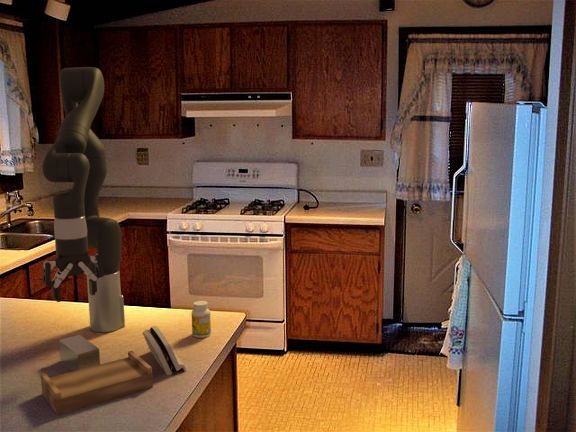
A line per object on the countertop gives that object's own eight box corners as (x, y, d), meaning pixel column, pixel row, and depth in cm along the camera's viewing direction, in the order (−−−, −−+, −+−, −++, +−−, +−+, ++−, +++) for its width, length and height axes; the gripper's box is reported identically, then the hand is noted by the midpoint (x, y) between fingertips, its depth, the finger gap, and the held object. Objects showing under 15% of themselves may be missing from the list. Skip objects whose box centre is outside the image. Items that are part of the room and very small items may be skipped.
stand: (42, 393, 142) (40, 373, 141) (132, 369, 155) (131, 350, 154) (57, 415, 132) (55, 393, 131) (152, 387, 145) (151, 367, 144)
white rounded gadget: (187, 371, 153) (172, 338, 150) (170, 381, 152) (155, 348, 148) (168, 347, 168) (154, 316, 165) (152, 356, 166) (138, 325, 163)
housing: (81, 356, 163) (79, 334, 162) (100, 371, 154) (99, 348, 153) (60, 361, 159) (58, 340, 158) (79, 377, 151) (77, 354, 149)
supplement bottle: (213, 336, 176) (212, 304, 174) (194, 339, 174) (193, 307, 172) (208, 330, 181) (207, 298, 179) (190, 332, 179) (189, 301, 177)
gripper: (94, 228, 157) (98, 289, 160) (36, 235, 149) (41, 299, 152) (105, 233, 151) (108, 296, 154) (45, 241, 143) (50, 307, 146)
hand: (75, 297), depth 153 cm, fingers open, 8 cm apart
